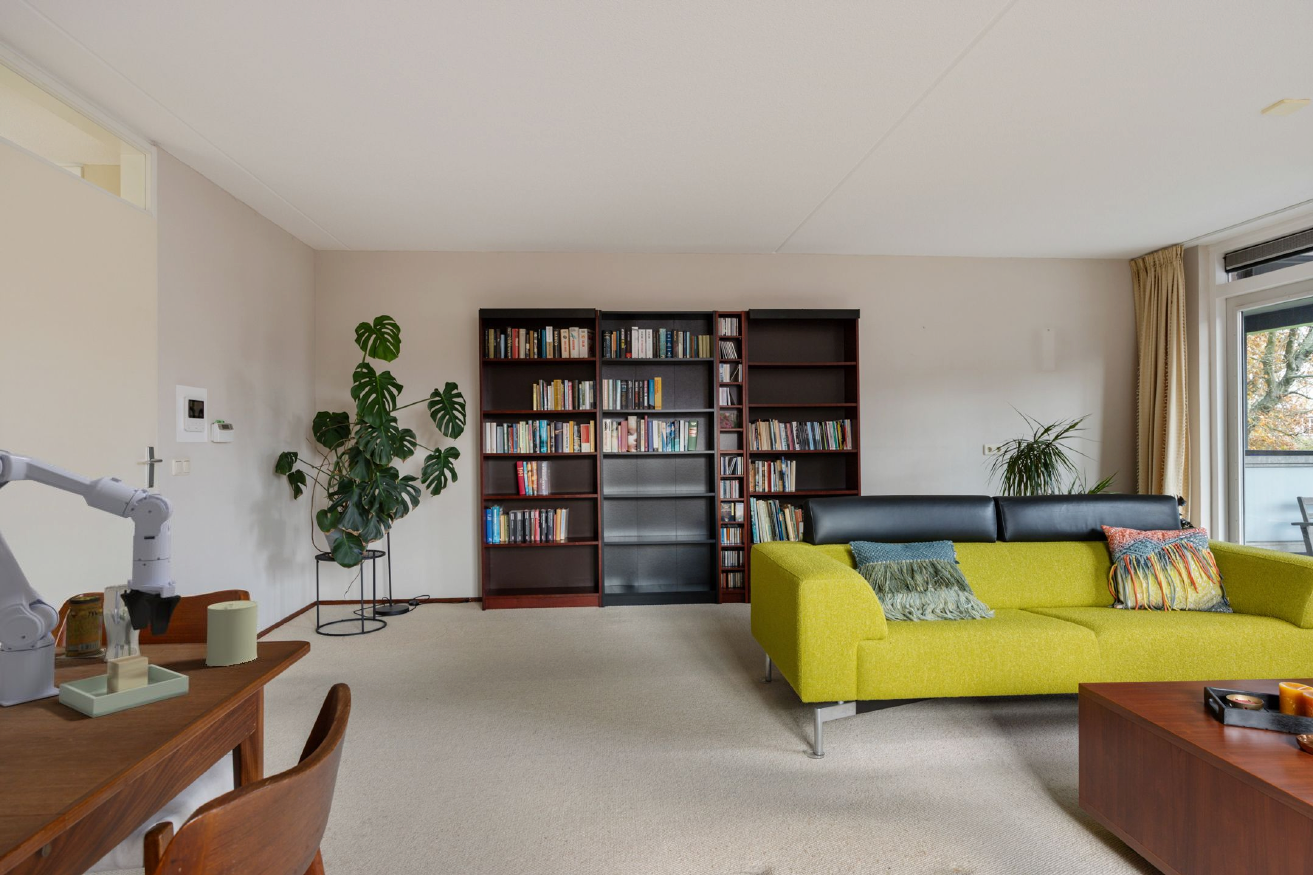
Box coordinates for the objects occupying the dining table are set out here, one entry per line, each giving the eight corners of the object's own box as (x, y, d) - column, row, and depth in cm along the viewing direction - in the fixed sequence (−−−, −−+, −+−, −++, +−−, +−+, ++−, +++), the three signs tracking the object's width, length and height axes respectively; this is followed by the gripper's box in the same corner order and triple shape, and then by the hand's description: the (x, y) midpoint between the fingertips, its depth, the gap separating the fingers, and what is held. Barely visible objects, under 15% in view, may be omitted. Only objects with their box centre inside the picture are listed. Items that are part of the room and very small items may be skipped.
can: (200, 668, 139) (202, 608, 140) (211, 656, 148) (212, 599, 148) (253, 664, 143) (254, 605, 143) (260, 652, 151) (261, 596, 152)
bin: (58, 701, 120) (59, 684, 120) (151, 680, 132) (152, 664, 132) (93, 717, 113) (93, 698, 113) (188, 693, 125) (188, 676, 125)
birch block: (106, 694, 122) (107, 660, 122) (135, 687, 126) (136, 654, 126) (117, 699, 120) (119, 663, 120) (147, 692, 124) (148, 657, 124)
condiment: (78, 650, 153) (80, 594, 153) (119, 649, 154) (121, 594, 154) (53, 659, 146) (54, 601, 146) (96, 658, 147) (98, 600, 147)
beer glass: (125, 663, 143) (127, 589, 144) (92, 663, 143) (94, 589, 144) (150, 653, 150) (152, 583, 151) (118, 653, 150) (120, 583, 151)
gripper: (193, 559, 131) (192, 632, 131) (157, 553, 139) (155, 622, 138) (150, 564, 125) (148, 640, 125) (115, 557, 133) (113, 629, 132)
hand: (149, 631), depth 131 cm, fingers open, 7 cm apart
